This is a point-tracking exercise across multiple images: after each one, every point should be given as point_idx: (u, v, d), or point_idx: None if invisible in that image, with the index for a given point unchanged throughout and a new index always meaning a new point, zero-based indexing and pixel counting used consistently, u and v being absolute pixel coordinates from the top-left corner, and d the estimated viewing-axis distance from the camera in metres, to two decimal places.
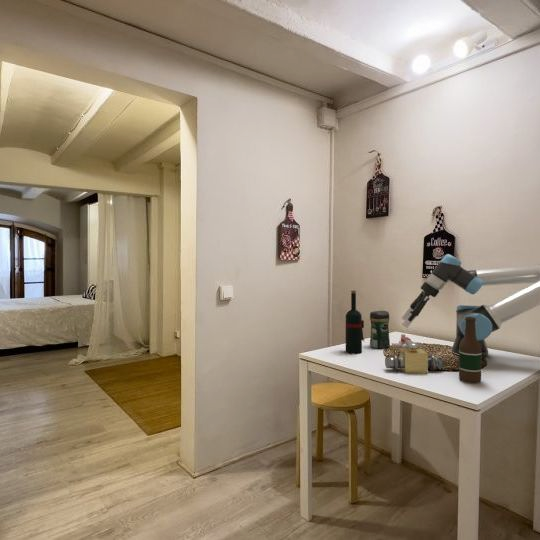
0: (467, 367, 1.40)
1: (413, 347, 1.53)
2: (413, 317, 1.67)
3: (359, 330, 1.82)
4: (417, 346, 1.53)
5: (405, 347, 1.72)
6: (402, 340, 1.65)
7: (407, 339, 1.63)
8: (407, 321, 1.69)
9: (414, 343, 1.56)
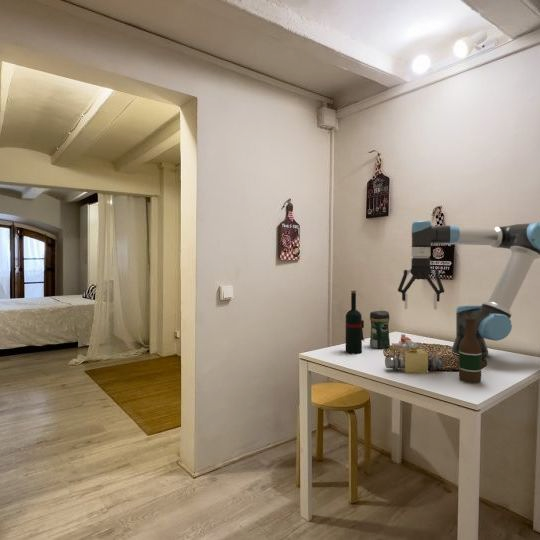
0: (467, 367, 1.40)
1: (413, 347, 1.53)
2: None
3: (359, 330, 1.82)
4: (417, 346, 1.53)
5: (405, 347, 1.72)
6: (402, 340, 1.65)
7: (407, 339, 1.63)
8: None
9: (414, 343, 1.56)
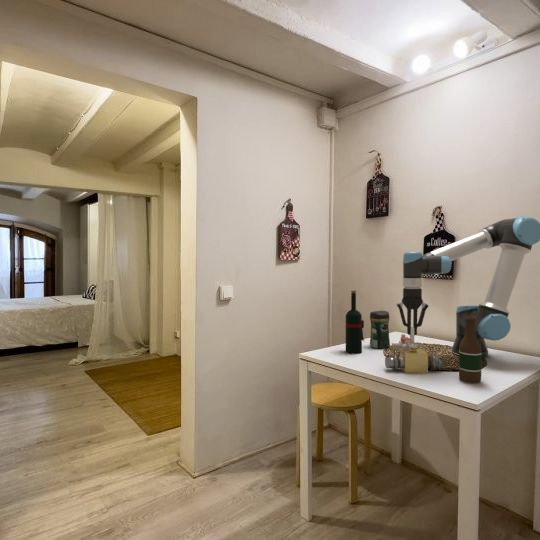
0: (467, 367, 1.40)
1: (413, 347, 1.53)
2: None
3: (359, 330, 1.82)
4: (417, 346, 1.53)
5: (405, 347, 1.72)
6: (402, 340, 1.65)
7: (407, 339, 1.63)
8: (413, 336, 1.63)
9: (414, 343, 1.56)
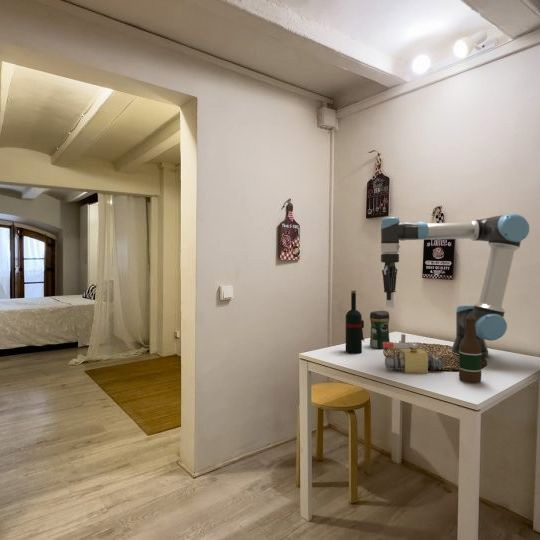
0: (467, 367, 1.40)
1: None
2: None
3: (359, 330, 1.82)
4: None
5: None
6: (389, 345, 1.56)
7: (392, 343, 1.57)
8: None
9: (412, 343, 1.56)
